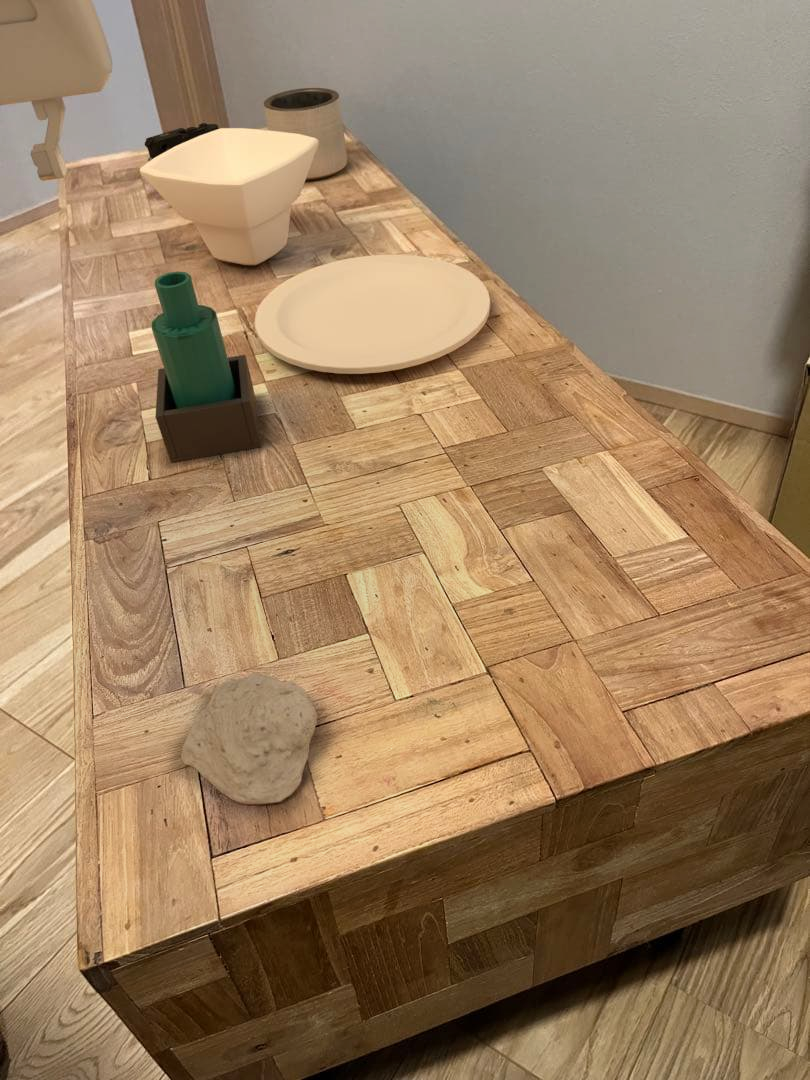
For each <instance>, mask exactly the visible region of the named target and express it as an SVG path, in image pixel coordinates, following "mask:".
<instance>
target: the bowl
mask: <svg viewBox="0 0 810 1080" xmlns="http://www.w3.org/2000/svg"><path fill="white" fill-rule="evenodd" d="M318 144H319V142H318V140H317V139H316V138H313V137H309V136H305V135H301V134H295V133H286V132H277V131H268V129H267V130H266V129H256V128H246V127H221V128H219V129H217V130H214V131H212V132H209V133H206V134H203V135H200V136H198V137H196V138H193V139H191V140H189V141H186V142H184V143H182V144H179V145H177V146H175V147H173V148H171V149H170V150H168V151H166V152H164V153H162V154H161V155H159V156H157V157H155V158H154V159H152V160H151V161H150V160H149V161H148V162H146V164H144V165H142V166H141V167H140V169H139V173H140V175H141V176H142V177H143V178H144V179H145V180H146V181H147V183H148V184H150V185H151V187H152V188H153V189H154V190H155V191H156V192H157V193H158V194H159V195H160V196H161V198H163V199H164V200H165V201H166V203H167V204H168V205H170V207H171V208H172V209H173V210H174V211H175V212H176V213H177V214H178V215H179V216H180V217H181V218H183V219H185V220H188V221H190V222H192V224H193V225H194V227H195V228H196V229H197V232H198V234H199V235H200V237H201V238H202V240H203V242H204V243H205V245H206V247H207V250H209V252H210V254H211V255H212V257H213V258H214V259H217V260H219V261H222V262H227V263H232V264H237V265H238V264H239V265H243V266H257V265H260V264H262V263H263V262H265V261H267V260H268V259H270V258H272V257H273V256H275V255H276V254H278V253H279V252H281V250H283V249H284V248H285V246H286V245H287V244H288V237H289V228H290V221H291V211H292V205H293V204H294V203H295V202H296V201H297V199H299V198H300V196H301V194H302V191H303V189H304V185H305V182H306V181H305V180H306V177H307V174H308V172H309V169H310V166H311V163H312V161H313V158H314V155H315V152H316V150H317V147H318Z"/></svg>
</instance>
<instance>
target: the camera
mask: <svg viewBox="0 0 810 1080" xmlns="http://www.w3.org/2000/svg"><path fill="white" fill-rule="evenodd" d="M217 129H220V128H219V124H216V123H206V122H202V123H201V122H200V123H199V124H198V126H197V127H196V126H190V127H189V126H188V127H186V128H183V127H179V128H176V129H173V130H170V131H167V132H166V131H165V132H163V133H160V134H156V135H153V136H150V137H146V138H145V141H144V146H145V148H147V151H148V156H149V157H148V158H147V161H148V162H149V161H151V160H152V159H154V158H155V157H157V156H159V155H161V154H162V153H164V152H166V151H168V150H170V149H171V148H173V147H175V146H177V145H179V144H182V143H184V142H186V141H189V140H191V139H193V138H196V137H198V136H200V135H203V134H206V133H209V132H212V131H214V130H217Z"/></svg>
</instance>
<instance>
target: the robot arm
mask: <svg viewBox="0 0 810 1080" xmlns="http://www.w3.org/2000/svg"><path fill="white" fill-rule="evenodd" d="M112 72H113V59H112V54H111V51H110V48H109V44H108V41H107V37H106V35H105V32H104V29H103V26H102V24H101V20H100V17H99V14H98V12H97V10H96V7H95V4H94V1H93V0H0V106H7V105H8V106H9V105H15V104H21V103H29V102H30V103H31V105H32V108H33V110H34V113H35V115H36V118H37V120H39V121H40V122H41V121H47V125H46V132H45V138H44V142H41V143H35V144H34V145H33V146H32V149H31V151H30V157H31V160H32V163H33V165H34V166H35V167H36V168H37V171H36V173H37V176H38V178H39V180H40V181H41V182H42V181H43V182H44V181H51V180H58V179H65V178H66V176H67V173H68V170H67V165H66V162H65V159H64V156H63V153H62V151H61V147H60V145H59V143H60V139H61V134H62V131H63V124H64V118H65V113H66V105H65V103H64V99H63V98H64V97H65V98H67V97H72V96H80V95H87V94H95V93H99V92H101V91H103V90H104V89H105V86H106V84H107V83H108V81H109V79H110V77H111V76H112V75H111V74H112Z"/></svg>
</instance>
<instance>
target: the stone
mask: <svg viewBox="0 0 810 1080" xmlns="http://www.w3.org/2000/svg"><path fill="white" fill-rule="evenodd" d="M317 722H318V714H317V711H316V708H315V706H314V705H313V703H312V700H311V697H310V695H309V693H308V692H307V691H306V690H305V689H304V688H303V687H302V686H300V685H297V682H296V681H292V680H289V681H284V682H282V681H281V680H279V679H277V678H274V677H273V676H270V675H268V674H263V673H259V672H253V673H249V674H248V675H247V676H245V677H243V678H239V679H232V680H228V681H223V682H222V683H221V684H220V685H217V684H216V685H215V684H214V685H213V693H212V695H211V697H210V699H209V702H208V703H207V705H206V707H205V708H204V709H202V710H201V711H200V712H199V713H198V714H197V715H196V716H195V719H194V721H193V723H192V725H191V728H190V729H189V731H188V733H187V734H186V738H185V741H184V742H183V744H182V748H181V752H180V759H181V761H182V762H183V764H184V765H185V766H190V767H192V768H193V769H195V771H197V772H199V774H200V775H201V776H202V778H204V779H206V780H207V781H208V782H209V783H210V784H211V785H212V786H213V787H214V788H215V789H216V790H217V791H219V792H220V793H221V794H223V795H225V796H226V797H227V798H229V799H231V800H232V801H235V802H237V803H240V804H243V805H267V804H275V803H281V802H283V801H284V800H286V798H288V797H290V796H292V794H293V793H294V792H295V791H296V790H297V789H298V787H299V786H300V784H301V782H302V780H303V778H302V777H303V772H304V770H305V766H306V763H307V761H308V760H309V759H308V758H309V753H310V743H311V741H312V737H313V735H314V733H315V731H316V730H315V729H316V726H317Z"/></svg>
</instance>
